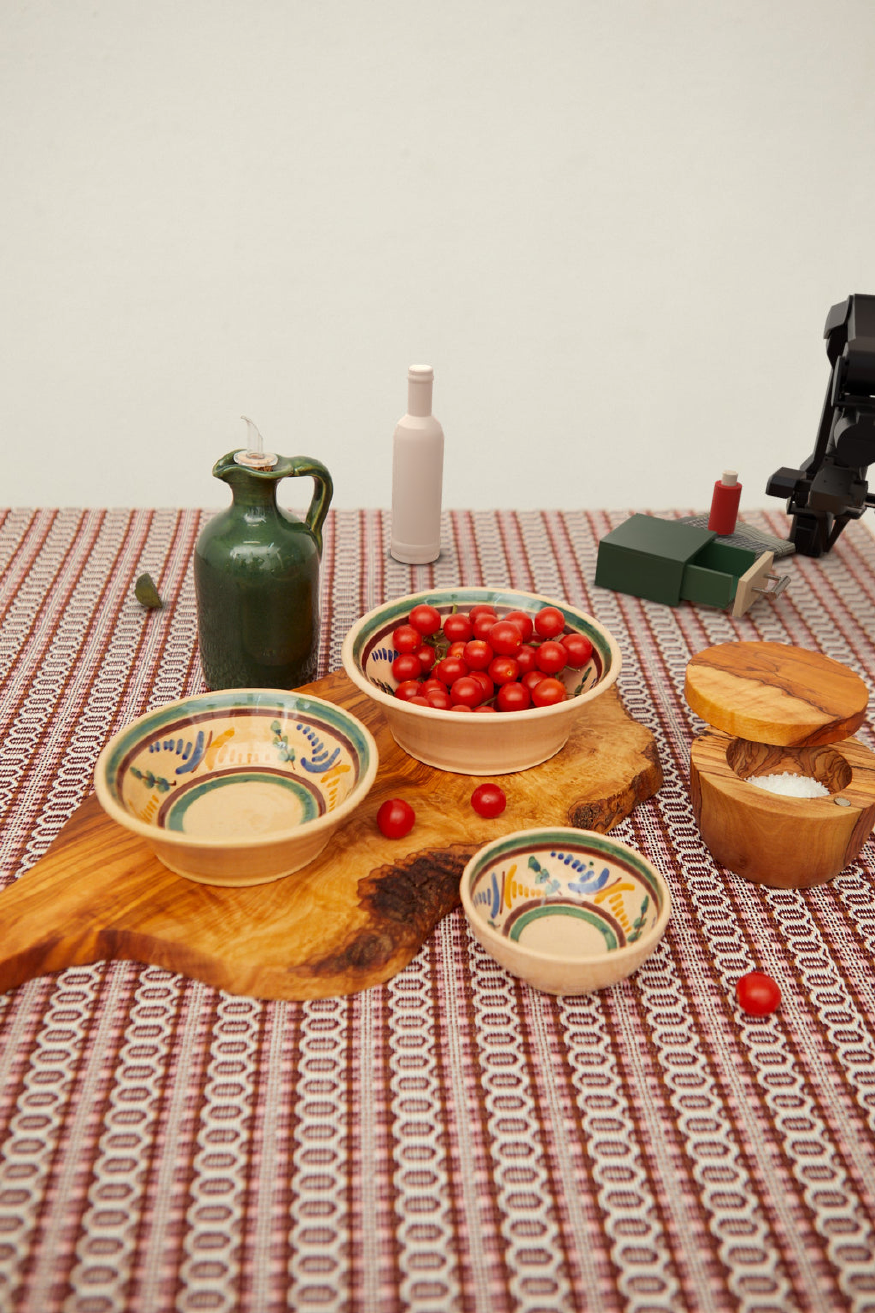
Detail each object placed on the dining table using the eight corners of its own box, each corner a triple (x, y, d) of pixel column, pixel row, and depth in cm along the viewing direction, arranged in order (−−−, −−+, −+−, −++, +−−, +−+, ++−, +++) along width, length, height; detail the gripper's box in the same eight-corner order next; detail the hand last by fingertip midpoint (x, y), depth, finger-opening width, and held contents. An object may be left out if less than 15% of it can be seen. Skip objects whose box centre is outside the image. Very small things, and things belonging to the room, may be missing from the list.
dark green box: (709, 575, 173) (717, 531, 169) (676, 607, 162) (684, 561, 158) (630, 555, 179) (636, 512, 175) (594, 585, 168) (599, 540, 164)
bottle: (379, 554, 175) (382, 366, 161) (412, 541, 180) (418, 357, 166) (417, 569, 170) (423, 376, 156) (449, 555, 176) (458, 367, 161)
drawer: (792, 593, 166) (800, 558, 163) (766, 625, 156) (774, 588, 153) (690, 567, 173) (695, 533, 170) (659, 595, 163) (664, 560, 160)
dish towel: (798, 554, 181) (802, 536, 180) (722, 576, 172) (726, 558, 171) (716, 518, 195) (718, 501, 193) (641, 537, 186) (644, 519, 184)
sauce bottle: (712, 522, 185) (722, 466, 180) (738, 528, 183) (748, 471, 178) (703, 530, 182) (712, 473, 177) (729, 536, 180) (739, 478, 175)
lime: (152, 596, 158) (149, 564, 156) (175, 606, 156) (172, 573, 154) (128, 607, 155) (124, 574, 153) (151, 616, 153) (148, 584, 150)
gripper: (763, 445, 145) (743, 554, 152) (911, 474, 136) (881, 588, 144) (787, 426, 153) (767, 530, 161) (927, 452, 145) (899, 561, 152)
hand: (826, 552), depth 154 cm, fingers closed
